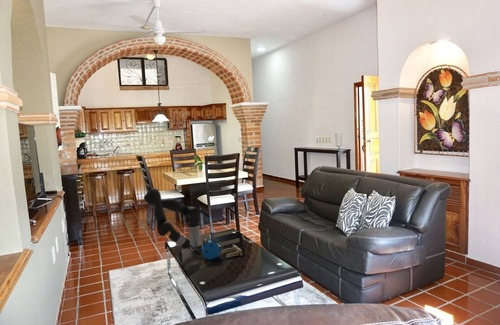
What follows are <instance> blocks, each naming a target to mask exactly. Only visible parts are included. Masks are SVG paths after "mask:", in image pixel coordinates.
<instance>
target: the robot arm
mask: <svg viewBox="0 0 500 325" xmlns="http://www.w3.org/2000/svg"><path fill="white" fill-rule="evenodd" d="M143 200H144V201H145V202H146V203H148V204H150V205H153V206H154V218H155V220H156V231H157V234H159V236H161V237H164V236H166V235H167V234H168V233H169V236H168V238H169V239H170V240H171V241H172V242H174V244H176V245H177V246H178V247H180V248H181V249H183V250H186V249H187V250H188V251H190V252H192V253H194V254H196V255H197V256H201V254H202V252H200V251H199V250H197V249H196V248H198V247H200V246H202V242H201V241H202V240H201V232H200V219H201V218H200V210H199V208H198V207H196V206H188V205H186V204H185V205H184V204H182V203H181V202H180V201H179V200H176V199H174V198H171V197H170V198H167V197H166V198H162V195H161V192H160V191H159V190H158V188H154V187H153V188H151V189H149V190H148V192H146V193H145V194H144V197H143ZM164 209H166V210H168V211H171V212H174V213H179V214H180V215H182V216H184V217H187V218H190V221H189V222H187V228H188V238H189V239H188V238H187V237H186V236H185V235H183V234H182V233H180V232H178V231H177V229H175V227H174V226H173V224H172V223H170V222H169V221H167V217H166V213H165V211H164Z"/></svg>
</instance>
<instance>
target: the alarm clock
mask: <svg viewBox="0 0 500 325" xmlns="http://www.w3.org/2000/svg"><path fill="white" fill-rule="evenodd" d="M220 250H221V249H220V246H219V244H218V240H217V239H216V238H215V237H213V238H211V239H204V240H202V242H201V254H202V255H203V257H204V258H206V259H208V260H214V259H216V258H217V257H218V256H219V255H220V252H221V251H220Z"/></svg>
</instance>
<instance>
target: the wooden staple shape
mask: <svg viewBox="0 0 500 325" xmlns="http://www.w3.org/2000/svg"><path fill="white" fill-rule="evenodd" d="M220 250H221V251H220V252H221V254H226V255H225V256H226V258H227V259H228V258H232V257H236V256H243V250H242V249H241V248H239V247H238V246H237V245H235V244H232V247H228V248H225V249H220Z"/></svg>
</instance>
